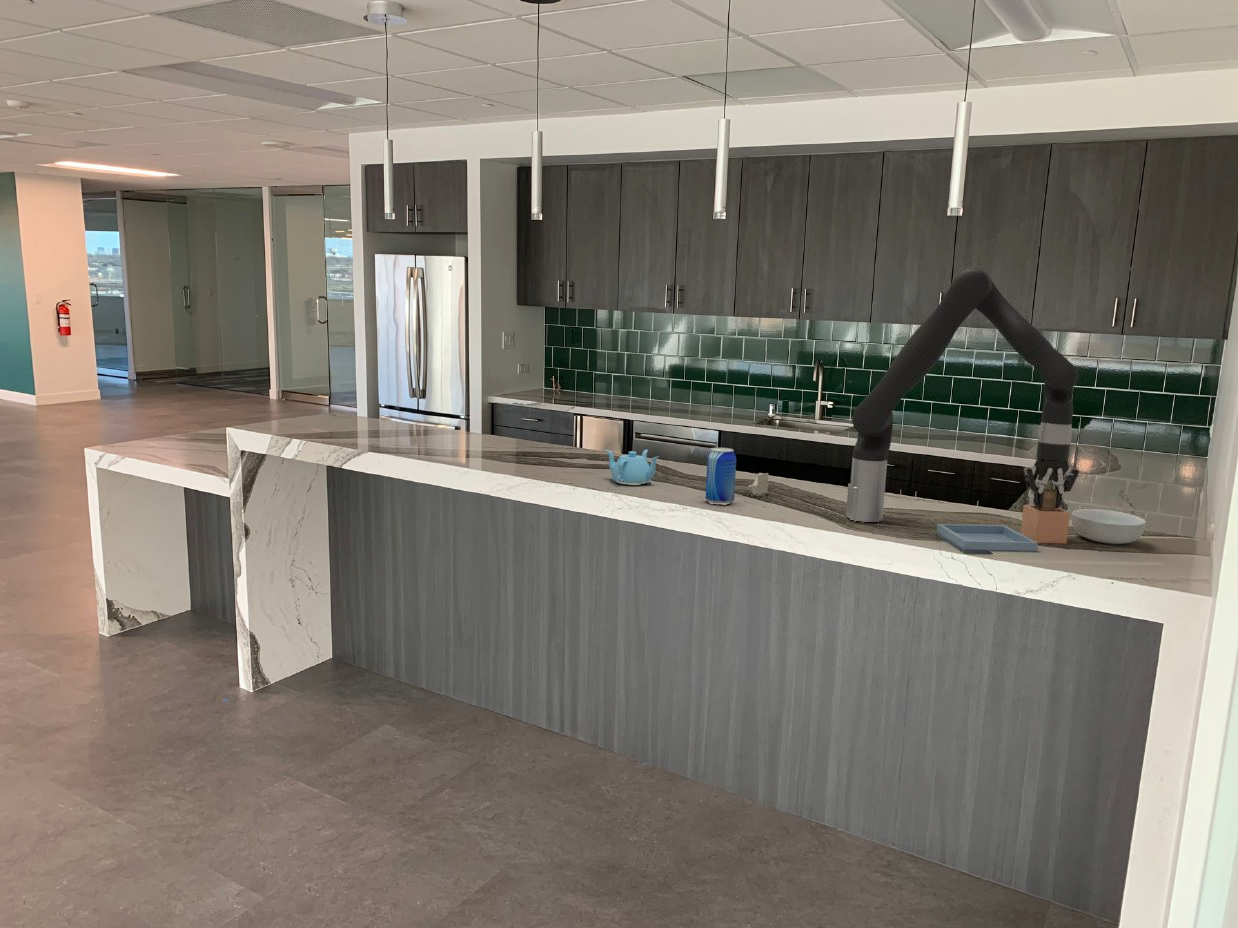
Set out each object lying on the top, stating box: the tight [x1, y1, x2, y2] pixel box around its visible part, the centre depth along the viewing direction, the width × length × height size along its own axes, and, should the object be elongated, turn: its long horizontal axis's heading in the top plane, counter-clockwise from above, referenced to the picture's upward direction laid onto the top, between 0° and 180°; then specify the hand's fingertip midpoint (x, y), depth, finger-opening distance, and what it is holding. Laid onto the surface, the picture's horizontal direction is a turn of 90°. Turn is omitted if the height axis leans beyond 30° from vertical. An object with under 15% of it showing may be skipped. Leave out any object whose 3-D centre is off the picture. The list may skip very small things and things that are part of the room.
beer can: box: [705, 447, 737, 504], centre depth 272 cm, size 8×8×16 cm
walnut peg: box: [1038, 487, 1057, 511], centre depth 237 cm, size 4×4×13 cm
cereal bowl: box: [1070, 508, 1146, 545], centre depth 240 cm, size 17×17×7 cm
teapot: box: [605, 448, 661, 483], centre depth 299 cm, size 15×15×10 cm
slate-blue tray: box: [935, 523, 1039, 555], centre depth 234 cm, size 18×18×3 cm
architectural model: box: [748, 472, 770, 494], centre depth 286 cm, size 3×7×7 cm, turn 138°
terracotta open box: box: [1020, 504, 1071, 545], centre depth 238 cm, size 8×8×9 cm
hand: (1046, 506), depth 237 cm, fingers closed on walnut peg, 4 cm apart
